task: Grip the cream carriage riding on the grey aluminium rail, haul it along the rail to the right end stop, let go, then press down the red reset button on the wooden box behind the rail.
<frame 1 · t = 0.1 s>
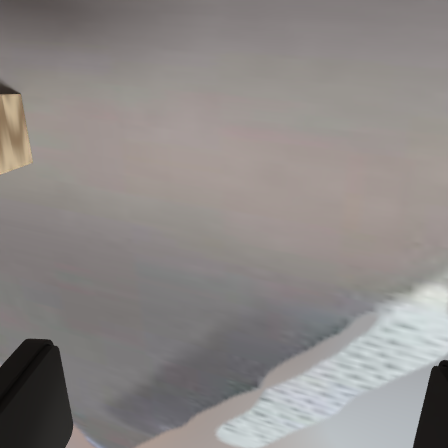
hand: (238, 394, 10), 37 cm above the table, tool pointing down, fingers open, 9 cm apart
wooden box: (3, 129, 45), on the table
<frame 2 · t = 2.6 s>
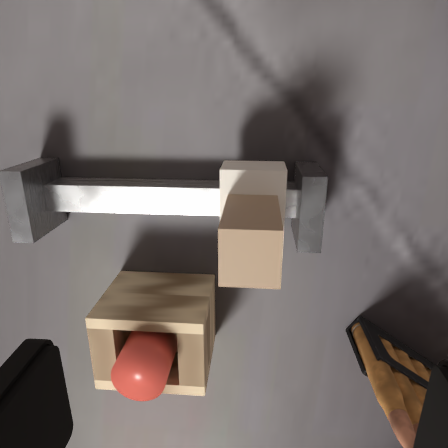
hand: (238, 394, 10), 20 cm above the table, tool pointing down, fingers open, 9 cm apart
reset button: (146, 359, 26), point 7 cm above the table, slide at 0.0 cm
rail: (175, 192, 29), on the table
wooden box: (169, 303, 33), on the table
carriage: (251, 226, 22), point 7 cm above the table, slide at -6.0 cm
ammunition clip: (399, 352, 33), on the table
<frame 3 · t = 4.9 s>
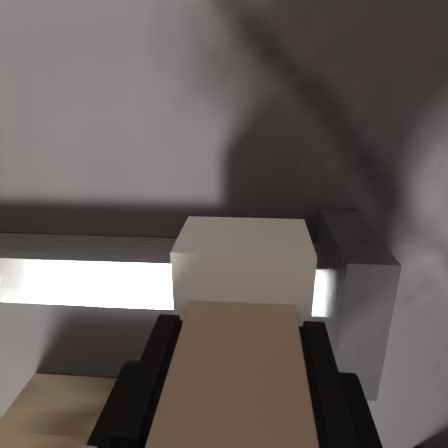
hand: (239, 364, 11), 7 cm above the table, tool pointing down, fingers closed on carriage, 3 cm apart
rail: (113, 256, 17), on the table
wooden box: (114, 421, 21), on the table
carriage: (238, 382, 10), point 7 cm above the table, slide at -6.0 cm, touching gripper
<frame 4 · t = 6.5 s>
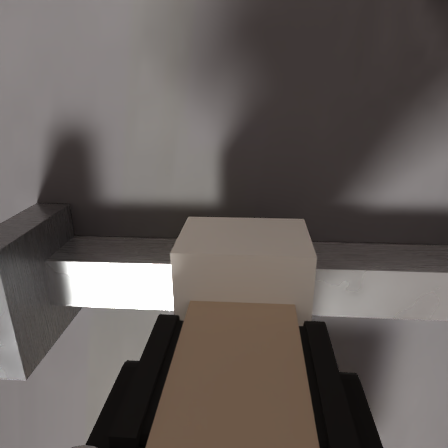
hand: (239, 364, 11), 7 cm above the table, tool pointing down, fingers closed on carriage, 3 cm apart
rail: (276, 262, 17), on the table
carriage: (239, 382, 10), point 7 cm above the table, slide at 1.3 cm, touching gripper
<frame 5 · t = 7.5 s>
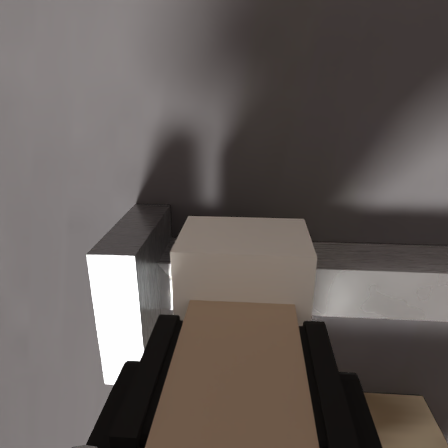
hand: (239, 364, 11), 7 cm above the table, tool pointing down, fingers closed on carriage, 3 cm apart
rail: (379, 265, 16), on the table
wooden box: (332, 435, 20), on the table
carriage: (238, 382, 10), point 7 cm above the table, slide at 5.7 cm, touching gripper
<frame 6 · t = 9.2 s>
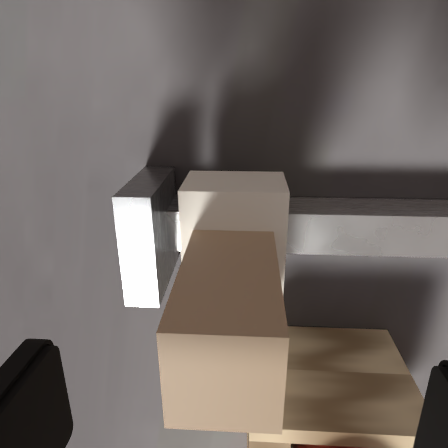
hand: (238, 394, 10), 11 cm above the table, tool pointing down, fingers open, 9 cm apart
rail: (349, 216, 20), on the table
wooden box: (313, 367, 23), on the table
carriage: (231, 286, 13), point 7 cm above the table, slide at 5.8 cm
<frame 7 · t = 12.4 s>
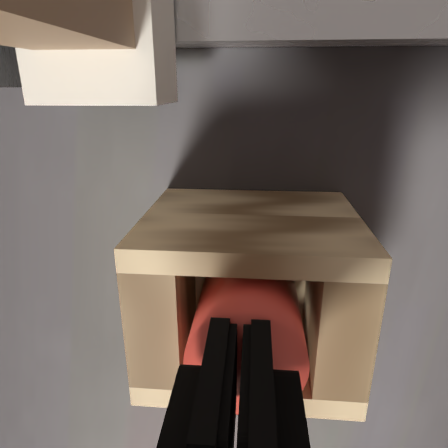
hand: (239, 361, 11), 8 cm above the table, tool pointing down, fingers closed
reset button: (247, 327, 13), point 6 cm above the table, slide at -0.8 cm, touching gripper
rail: (282, 19, 15), on the table
wooden box: (251, 249, 18), on the table
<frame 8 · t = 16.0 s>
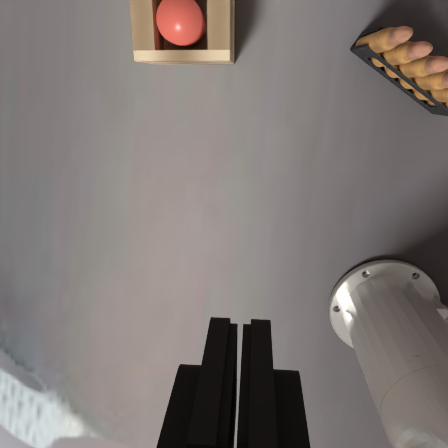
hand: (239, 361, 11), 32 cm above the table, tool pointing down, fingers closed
reset button: (183, 22, 32), point 6 cm above the table, slide at -1.5 cm
wooden box: (193, 30, 37), on the table
ammunition clip: (398, 74, 37), on the table
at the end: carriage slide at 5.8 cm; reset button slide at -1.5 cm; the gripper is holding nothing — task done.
